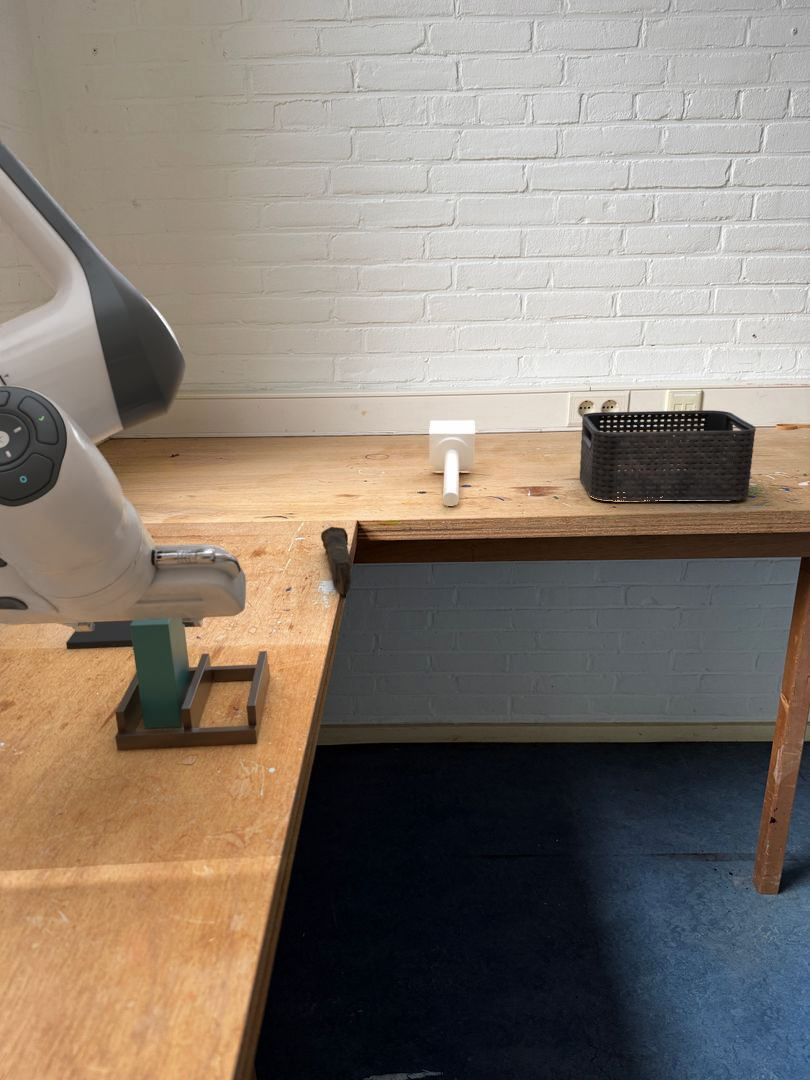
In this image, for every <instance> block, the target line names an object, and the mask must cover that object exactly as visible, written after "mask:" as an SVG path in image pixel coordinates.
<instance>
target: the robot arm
mask: <svg viewBox="0 0 810 1080" xmlns="http://www.w3.org/2000/svg"><path fill="white" fill-rule="evenodd" d="M0 231H1V232H2V234H4V235H5V236H6V237H7V239H8V240H9V241H10V242H11V243H12V244H13V246H14V247H15V248H16V249H17V251H19V253H20V254H21V255H22V256H23V257H24V258H25V259H26V261H28V263H29V264H30V265H31V266H32V267H33V269H34V270H35V271H36V272H37V274H39V275H40V276H41V277H42V279H43V280H44V281H45V282H46V283H47V284H48V285H49V287H50V288H51V289H52V290H53V291H54V292H55V295H54V296H53V297H52V298H51V299H50V300H49V301H48V302H46V303H45V304H43V305H40V306H38V307H36V308H34V309H32V310H29V311H27V312H25V313H23V314H20V315H18V316H16V317H13V318H11V319H10V320H7V321H5V322H3V323H0V624H2V625H8V626H21V625H47V624H48V625H49V624H57V625H62V626H66V627H71V628H72V630H74V632H75V631H76V632H80V631H82V632H83V631H93V630H94V629H95V624H94V622H100V621H126V620H151V619H177V618H182V623H183V625H184V627H185V628H202V627H203V624H204V622H203V621H204V619H205V618H227V617H236V616H238V615H241V613H242V612H244V611H245V609H246V600H247V578H246V574H245V571H244V569H243V568H242V567H241V564H240V563H239V560H238V558H237V556H235V555H234V554H231V553H230V552H229V551H228V550H227V549H225V548H223V547H221V546H218V545H215V544H205V543H197V544H194V543H193V544H165V545H164V544H163V545H162V544H161V545H156V544H155V541H154V539H153V537H152V536H151V534H150V532H149V530H148V529H147V527H146V525H145V524H144V522H143V520H142V518H141V516H140V515H139V513H138V512H137V509H136V508H135V506H134V505H133V504H132V503H131V501H130V500H129V499H128V498H127V496H125V494H124V492H123V489H122V485H121V483H120V480H119V479H118V477H117V475H116V474H115V472H114V470H113V469H112V467H111V466H110V464H109V462H108V461H107V459H106V458H105V456H104V455H103V454H102V452H101V451H100V449H99V448H98V447H97V446H96V444H97V443H98V442H101V441H102V440H104V439H106V438H108V437H110V436H113V435H115V434H116V433H118V432H121V431H123V430H124V431H127V430H130V429H133V428H135V427H138V426H140V425H142V424H145V423H148V422H150V421H153V420H155V419H157V418H160V417H163V416H166V415H168V413H169V412H170V410H171V408H172V406H173V404H174V403H175V400H176V398H177V396H178V394H179V392H180V388H181V386H182V383H183V380H184V376H185V372H186V366H187V365H186V361H185V358H184V356H183V353H182V350H181V346H180V344H179V341H178V339H177V337H176V335H175V333H174V331H173V329H172V328H171V326H170V324H169V323H168V321H167V320H166V319H165V317H164V316H163V314H161V312H160V311H159V309H157V308H156V307H155V306H154V305H153V303H151V301H150V300H149V299H148V298H146V297H145V296H144V295H143V294H142V293H141V292H140V291H139V290H138V289H137V288H136V287H135V286H134V285H133V284H132V283H131V281H129V280H128V279H127V278H126V277H125V276H124V275H123V274H122V273H121V272H120V271H119V270H118V269H117V268H116V267H115V266H114V265H113V264H112V263H111V261H109V260H108V259H107V258H106V257H105V256H104V254H102V252H101V251H100V249H98V247H96V246H95V245H94V243H93V242H92V241H91V240H90V238H89V237H88V236H87V235H86V234H85V233H84V232H83V231H82V230H81V228H80V227H79V226H78V225H77V224H76V222H75V221H74V220H73V219H72V218H71V217H70V216H69V214H68V213H67V212H66V210H64V209H63V208H62V207H61V205H60V204H59V203H58V202H57V201H56V199H55V198H54V197H53V196H52V195H51V194H50V193H49V192H48V191H47V189H46V188H45V187H44V186H43V185H42V183H41V182H40V181H39V180H38V179H37V178H36V176H34V174H33V173H32V172H31V171H30V169H29V168H28V167H27V166H26V165H25V163H23V162H22V160H21V159H19V157H18V156H17V155H16V154H15V153H14V152H13V151H12V149H11V148H10V147H8V146H7V144H6V143H5V142H4V141H3V139H1V138H0Z"/></svg>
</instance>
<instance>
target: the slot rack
mask: <svg viewBox="0 0 810 1080" xmlns="http://www.w3.org/2000/svg"><path fill="white" fill-rule="evenodd" d="M211 663H212V662H211V653H202V654H201V655H200V659H199V661H198V664H197V666H191V667H190V666H189V669H190V678H191V684H190V687H189V690H188V692H187V695H186V698H185V700H184V703H183V706H182V708H181V712H182V720H183V723H182V728H162V729H145V730H136V729H137V726H138V724H139V721H140V719H141V717H142V716H143V714H142V707H141V700H140V693H139V686H138V679H137V672H136V671H135V673H134V675H133V677H132V679H131V681H130V682H129V684H128V686H127V689H126V690H125V693H123V694H124V695H123V696H122V698H121V701H120V702H119V703H118V705H117V707H116V710H115V712H114V713H115V715H114V716H115V720H116V727H117V732H116V734H115V743H116V750H117V751H125V750H127V751H128V750H144V749H147V750H148V749H165V748H188V747H205V746H206V747H207V746H228V745H247V744H248V745H249V744H250V745H251V744H257V743H258V740H259V733H260V729H261V723H262V720H263V714H264V709H265V703H266V698H267V693H268V689H269V682H270V678H271V670H270V664H269V660H268V651H267V650H260V651H259V652H258V657H257V660H256V664H238V665H237V664H236V665H212V664H211ZM234 681H235V682H237V681H238V682H239V681H252V682H251V685H250V690H249V695H248V699H247V703H246V715H247V724H248V725H230V726H209V727H208V726H207V727H199V725H200V722H201V719H202V716H203V713H204V709H205V708H206V707H205V706H206V703H207V701H208V697H209V695H210V691H211V689H212V685H213V683H214V682H234Z"/></svg>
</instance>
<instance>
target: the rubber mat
mask: <svg viewBox="0 0 810 1080" xmlns="http://www.w3.org/2000/svg"><path fill="white" fill-rule="evenodd" d="M132 621H133V620H126V621H100V622H94V624H95V629H94V630H93V631H83V632H82V631H80V632H76V631H75V630H74V631H73V633H72V634H71V635H70V637H69V638H68V640H67V641H66V644H65V645H66V648H67V649H68V650H69V649H91V648H92V649H93V648H117V647H133V644H132V637H131V630H130V625H131V623H132Z"/></svg>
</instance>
